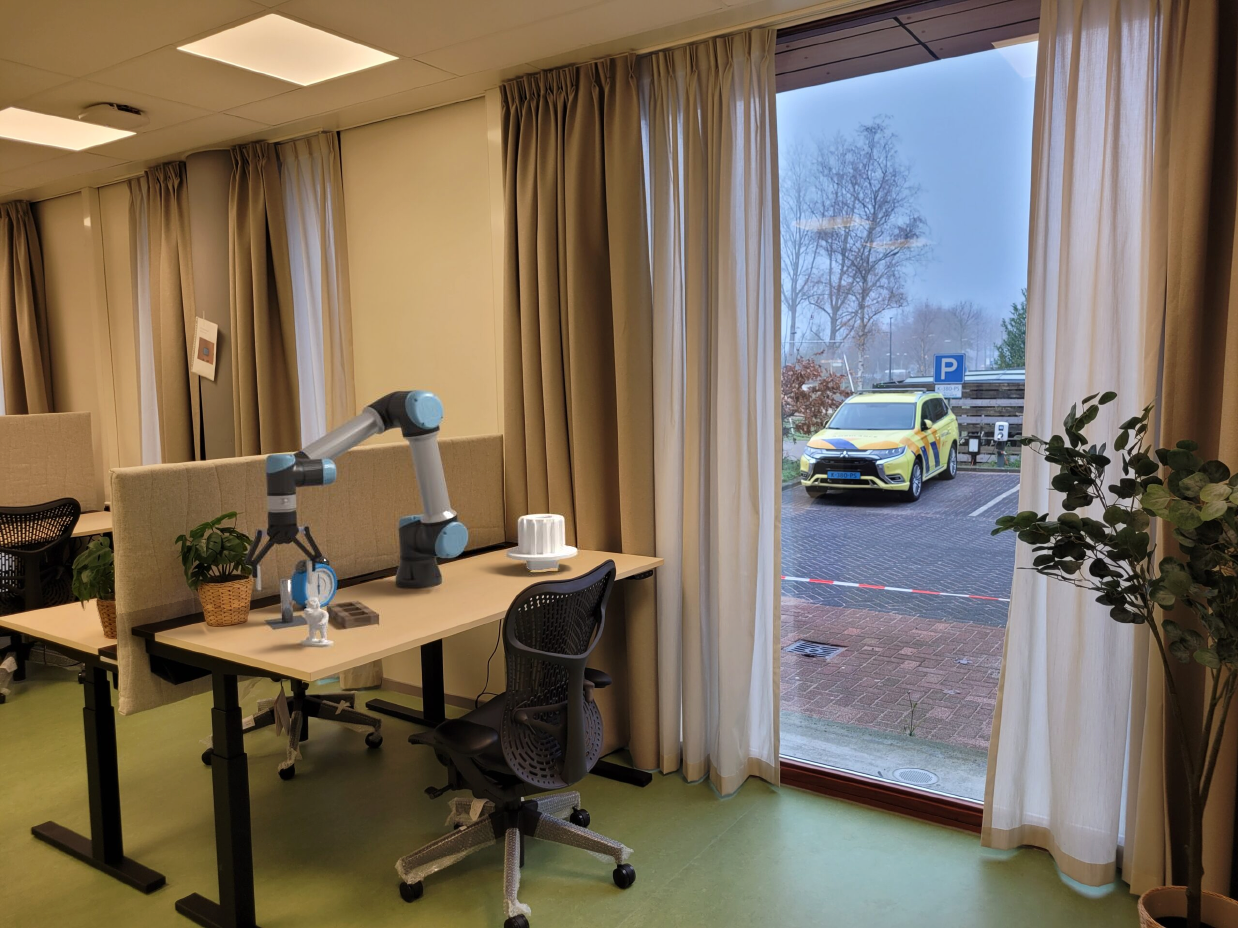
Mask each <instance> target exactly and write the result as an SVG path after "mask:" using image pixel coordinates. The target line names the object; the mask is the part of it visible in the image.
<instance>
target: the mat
mask: <svg viewBox="0 0 1238 928" xmlns="http://www.w3.org/2000/svg"><path fill="white" fill-rule="evenodd" d="M264 622H265V623H266V624H267V626H269V627H270V628H271V629H272V630H275V631H276V630H281V629H287V628H293V627H294V628H295V627H300V626H301V627H302V626H307V625H308V624H307V621H306V619H305V616H303V615H301V614H299V615H293V622H292V623H282V617H278V618H277V617H276V618H271V619H265V620H264ZM308 626H309V625H308Z"/></svg>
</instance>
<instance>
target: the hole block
mask: <svg viewBox="0 0 1238 928" xmlns="http://www.w3.org/2000/svg"><path fill="white" fill-rule="evenodd" d="M325 607H326V612H327V613H328V615H329V617H330V618H331V619H333V620H334V621H335V622H337V623H338V624H339V625H341V626H342V627H343V628H345V630H349V629H355V628H361V627H366V626H373V625H374V626H375V625H378V626H380V614H379V613H378V612H376V611H374V610H373V609H372V608H370V607H369V606H367V605H365V604H363V602H361V601H359V600H353V601H345V602H339V603H329V605H326V606H325Z"/></svg>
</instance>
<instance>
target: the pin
mask: <svg viewBox="0 0 1238 928" xmlns="http://www.w3.org/2000/svg"><path fill="white" fill-rule="evenodd" d="M279 585H280V586H279V587H280V588H279V591H280V592H279V593H280V611H281V612H280V613H281V618H282V623H292V622H293V616H294V608H293V598H292V582H291V578H280V579H279Z"/></svg>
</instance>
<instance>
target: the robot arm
mask: <svg viewBox="0 0 1238 928" xmlns="http://www.w3.org/2000/svg"><path fill="white" fill-rule="evenodd" d="M444 415H445V413H444V407H443V404H442V401H441V399H440V398H439V397H438V395H436V394H434V393H433V392H431V391H428V390H421V389H418V390H397V391H393V392H390V393H388V394H385V395H383V396H382V397H380V398H378V399H376V400H375V401H373V402H371V403H370V404H368V405H367V406H365V407H363V409H362V412H361V413H360V414H359V415H356V416H355V417H353V418H352V419H350V420H348V421H347V422H345V423H343V424H341V425H340V426H338V427H337V428H335V429H333V430H332V431H330V432H329V433H326V434H325V435H324V436H321V437H320V438H318V439H316V440H314V441H313V442H311V443H310V444H308V445H306V446H304V447H303V448H302V449H299V450H298V451H296V452H295V453H294V452H293V453H273V454H268V455H267V456H266V459H265V471H264V472H265V479H266V481H265V482H266V506H267V507H266V509H267V510H268V512H267V528H266V529H259V528H257V529H255V533H254V534H255V537H254V538H253V541H252V543H251V544H250V548H249V549H248V552H247V554H246V556H245V557H244V560H243V563H244V564H245V565H247V566H250V567H251V577H252V578H253V579H255V584H256V586H255V587H256V590H257V591H262V580H261V578H262V576H261V566H260V565H259V564H260V563H261V561H262V559H263V558H264V557H266V555H267V553H268V552H269V551H270V550H271V549H272V548H273V547H274V545H277V546H278V545H283V544H284V545H285V544H286V545H289V544H291V543H293V544H294V545H295V546H296V547H298V549H300V551H301V552H302V553H304V555H305V556H306V557H307V558H308V559H307V583H308V584H313V582H312V572H315V570H316V563H315V561H316V559H318V558H321V557H322V556H323V554H322V552H321V551H320V549H319V547H318V545H317V543H316V541H315V540H314V538H313V536H312V535H311V530H310V527H309V525H306V524H305V525H303V526H299V527H298V516H297V515H298V514H297V513H298V512H297V511H296V510H295V509H296V508H297V488H302V487H318V486H319V487H321V486H322V487H324V486H328V485H332V484H333V483H334V482H335V481H336V478H337V473H338V472H337V466H336V463H335V462H334V461H333V460H335V459H337V458H338V457H340V456H341V455H343V454H345V453H346V452H348V451H349V450H351V449H353V448H355V447H356V446H357V445H360V444H361V443H363V442H364V441H366V440H367V439H370V438H371V437H372V436H373V435H375V434H376V435H381V434H383V433H385V432H387V431H389V430H393V429H400V431H401V435H402V438H403V439H404V440H406V441H408V445H409V449H410V453H411V458H412V463H413V468H414V473H415V477H416V482H417V487H418V492H419V495H420V497H419V498H420V501H421V506H422V507H421V508H422V511H423V513H422V514H421V513H420V514H415V515H407V516H402V517H400V518H399V520H398V528H397V530H398V539H399V540H398V543H399V544H398V546H399V564H398V567H397V571H396V575H395V579H394V580H395V581H394V582H395V586H396V587H398V588H402V589H423V588H430V587H436V586H439V585H441V584H442V583H443V575H442V573H441V570H440V567H439V564H438V562H437V558H438V557H439V558H440V559H453V558H456V557H458V556H459V555H461V554H462V553H463V552H464V550H465V547H467V544H468V542H469V541H468V540H469V532H468V529H467V527H466V526H465V525H464V524H463V523H462V522H459V517H458V513H457V511H456V510H455V509H453V508H451V503H450V497H449V492H448V487H447V483H446V482H447V481H446V479H445V474H444V473H445V472H444V468H443V463H442V457H441V453H440V449H439V448H440V447H439V444H438V439H437V436H438V434H439V432H440V431H441V429H440V424H441V423H442V421H443V420H442V419H443V418H444ZM299 532H300V534H302V535H304V538H305V539H306V541H307V543H308V544H309V546H310V548H311V549H312V551H313V553H314V554H313V553H312V552H311V551H310V550H309V549H308V548H307V547H306V546H305V545H304V544H303V543H302V542H301V541H300V540H299V539H298V538H297V536H298V534H299ZM266 535H267V537H268V538H269V539H268V540H267V541H266V543H265V544H264V546H263V547H262V548H261V549H260V550H259V552H258V553H257V554H256V552H257V550H258V547H259V545H260V544H261V541H262V539H264V538H265V536H266ZM255 554H256V556H255ZM254 556H255V557H254Z"/></svg>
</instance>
